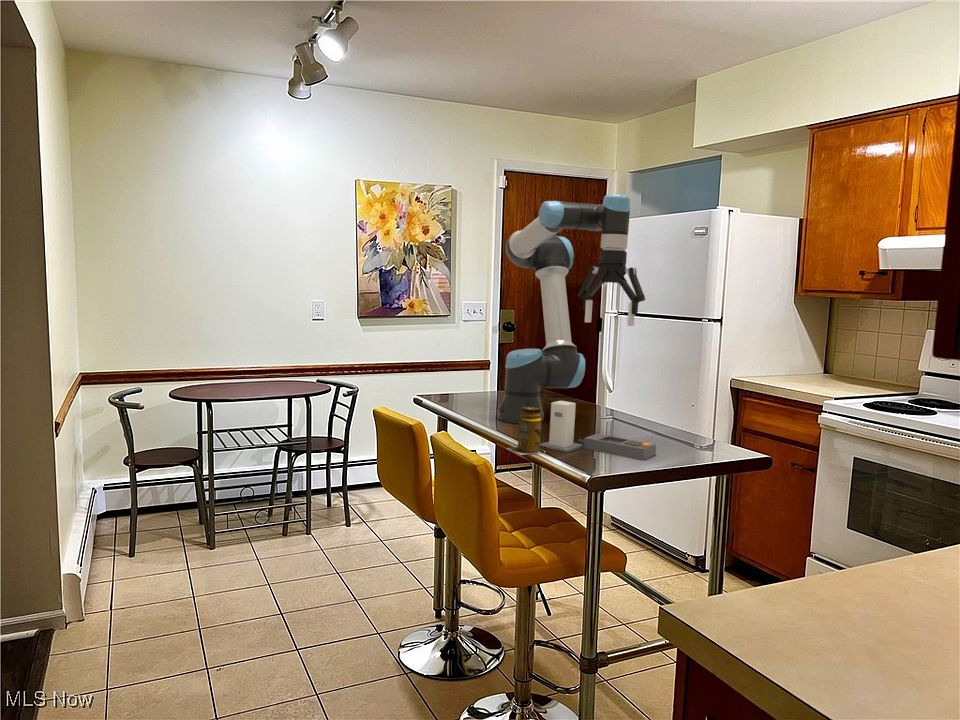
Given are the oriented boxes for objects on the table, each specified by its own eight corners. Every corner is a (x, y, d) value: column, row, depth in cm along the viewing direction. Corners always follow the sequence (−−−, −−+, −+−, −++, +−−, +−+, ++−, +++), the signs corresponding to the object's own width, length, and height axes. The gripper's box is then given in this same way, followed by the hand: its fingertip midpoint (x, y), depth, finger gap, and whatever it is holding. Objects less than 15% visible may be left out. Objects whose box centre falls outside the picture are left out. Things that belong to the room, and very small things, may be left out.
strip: (571, 445, 204) (572, 433, 204) (584, 441, 210) (585, 429, 210) (643, 460, 191) (644, 447, 191) (655, 454, 198) (656, 442, 197)
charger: (557, 441, 206) (560, 400, 204) (573, 444, 203) (575, 403, 201) (548, 444, 202) (551, 402, 200) (564, 447, 199) (566, 405, 197)
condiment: (546, 452, 195) (548, 409, 194) (521, 455, 191) (523, 411, 189) (529, 446, 201) (532, 404, 200) (505, 449, 197) (507, 406, 195)
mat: (555, 441, 209) (555, 439, 209) (583, 446, 203) (583, 444, 203) (539, 446, 202) (539, 444, 201) (567, 452, 196) (567, 450, 196)
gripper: (660, 251, 200) (654, 327, 203) (581, 249, 215) (577, 320, 217) (649, 250, 194) (643, 327, 197) (569, 248, 209) (564, 321, 211)
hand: (608, 324), depth 207 cm, fingers open, 13 cm apart
